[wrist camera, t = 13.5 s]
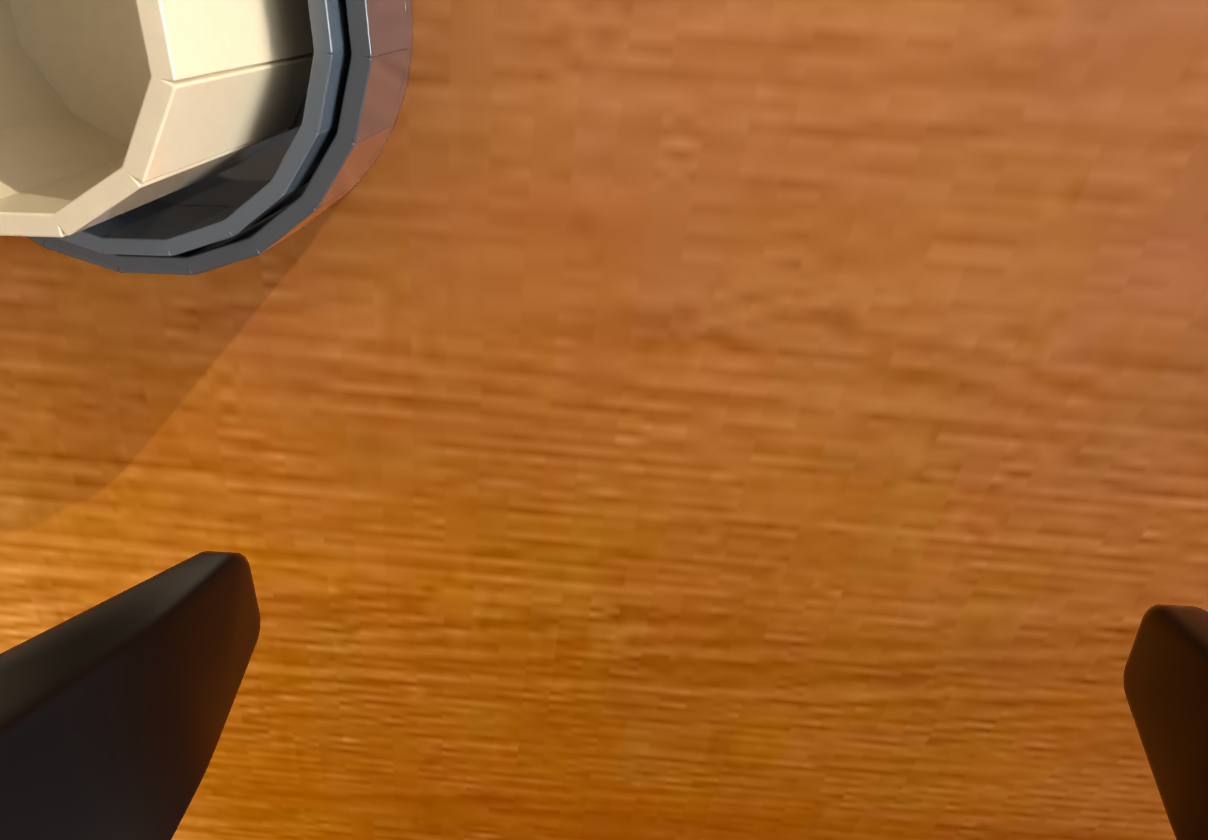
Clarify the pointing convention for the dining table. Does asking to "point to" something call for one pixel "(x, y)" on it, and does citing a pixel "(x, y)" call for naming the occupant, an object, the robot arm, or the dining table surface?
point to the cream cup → (137, 100)
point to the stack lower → (361, 134)
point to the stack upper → (243, 166)
